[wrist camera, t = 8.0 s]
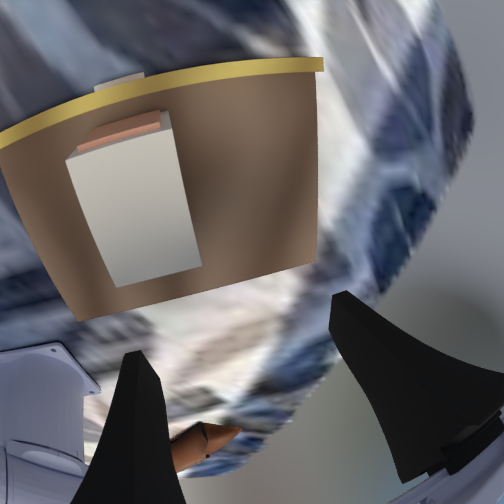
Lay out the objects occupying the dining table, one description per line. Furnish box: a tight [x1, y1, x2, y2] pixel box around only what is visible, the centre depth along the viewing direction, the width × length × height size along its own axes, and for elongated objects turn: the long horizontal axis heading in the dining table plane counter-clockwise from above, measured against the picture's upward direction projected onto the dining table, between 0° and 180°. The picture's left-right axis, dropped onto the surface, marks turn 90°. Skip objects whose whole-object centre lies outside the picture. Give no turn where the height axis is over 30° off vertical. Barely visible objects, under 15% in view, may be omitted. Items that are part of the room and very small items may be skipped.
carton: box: [65, 110, 202, 288], centre depth 13 cm, size 4×6×5 cm, turn 6°
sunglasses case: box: [170, 423, 242, 473], centre depth 37 cm, size 18×7×7 cm
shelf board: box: [0, 57, 324, 322], centre depth 16 cm, size 18×14×2 cm
